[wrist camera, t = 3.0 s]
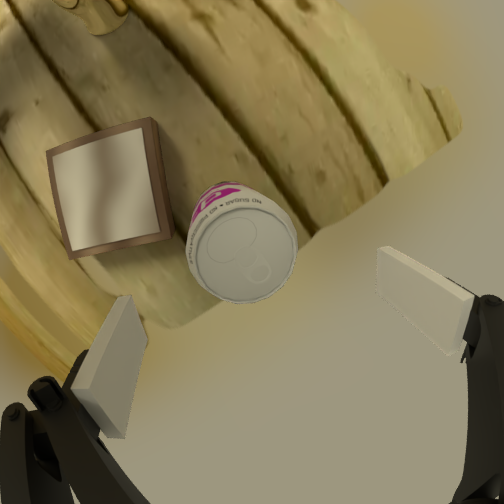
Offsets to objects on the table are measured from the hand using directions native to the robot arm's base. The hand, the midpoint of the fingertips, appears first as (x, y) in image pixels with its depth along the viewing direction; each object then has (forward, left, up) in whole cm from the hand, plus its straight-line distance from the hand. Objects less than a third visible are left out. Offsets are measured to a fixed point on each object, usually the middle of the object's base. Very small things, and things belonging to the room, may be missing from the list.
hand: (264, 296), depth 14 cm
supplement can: (0, 0, -21) cm, 21 cm away
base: (-13, +6, -20) cm, 25 cm away
